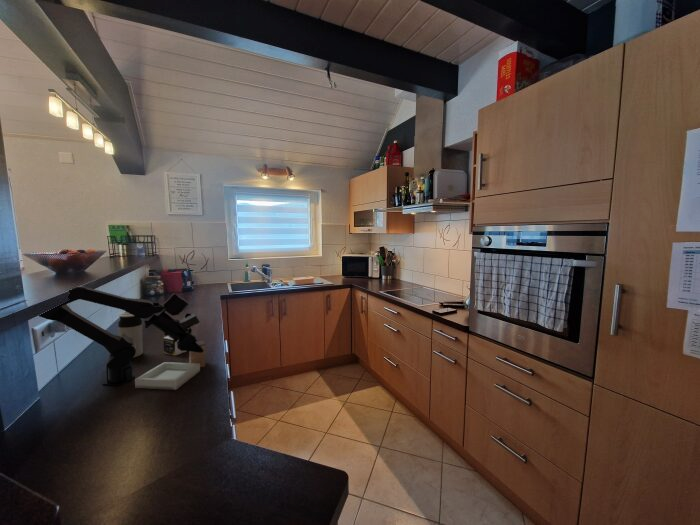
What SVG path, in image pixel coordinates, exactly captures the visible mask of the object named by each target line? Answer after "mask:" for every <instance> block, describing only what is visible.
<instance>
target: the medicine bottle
mask: <svg viewBox="0 0 700 525" xmlns="http://www.w3.org/2000/svg"><path fill="white" fill-rule="evenodd" d="M178 341H179V340H178ZM178 341H177V342H178ZM177 342H175V341H174V340H173V339H172V338H171V337H169V336H168V335H167V336H164V337H163V354H166V355H170V356H179V355H180V354H183V353H186V352H187V351H181V350H179V349H178V348H177Z"/></svg>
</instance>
